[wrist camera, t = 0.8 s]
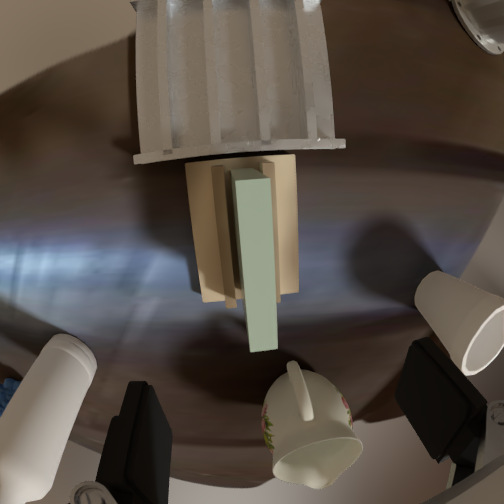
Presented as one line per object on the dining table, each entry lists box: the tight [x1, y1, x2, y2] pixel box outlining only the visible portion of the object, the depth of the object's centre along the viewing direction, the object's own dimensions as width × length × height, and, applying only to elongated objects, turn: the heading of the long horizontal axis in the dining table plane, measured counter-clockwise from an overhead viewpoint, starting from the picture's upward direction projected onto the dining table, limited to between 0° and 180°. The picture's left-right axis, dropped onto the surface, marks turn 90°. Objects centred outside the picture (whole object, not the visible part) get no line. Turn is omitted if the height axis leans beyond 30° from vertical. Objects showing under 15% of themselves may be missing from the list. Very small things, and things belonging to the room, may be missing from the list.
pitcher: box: [262, 361, 363, 489], centre depth 31 cm, size 11×18×14 cm, turn 14°
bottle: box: [0, 333, 97, 504], centre depth 19 cm, size 8×8×30 cm
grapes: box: [0, 378, 22, 417], centre depth 28 cm, size 12×7×12 cm, turn 95°
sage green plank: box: [230, 168, 278, 352], centre depth 23 cm, size 2×12×10 cm, turn 4°
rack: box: [130, 0, 346, 164], centre depth 22 cm, size 18×17×4 cm
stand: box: [185, 154, 299, 308], centre depth 27 cm, size 10×14×4 cm
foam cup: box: [414, 270, 504, 375], centre depth 29 cm, size 10×9×13 cm
